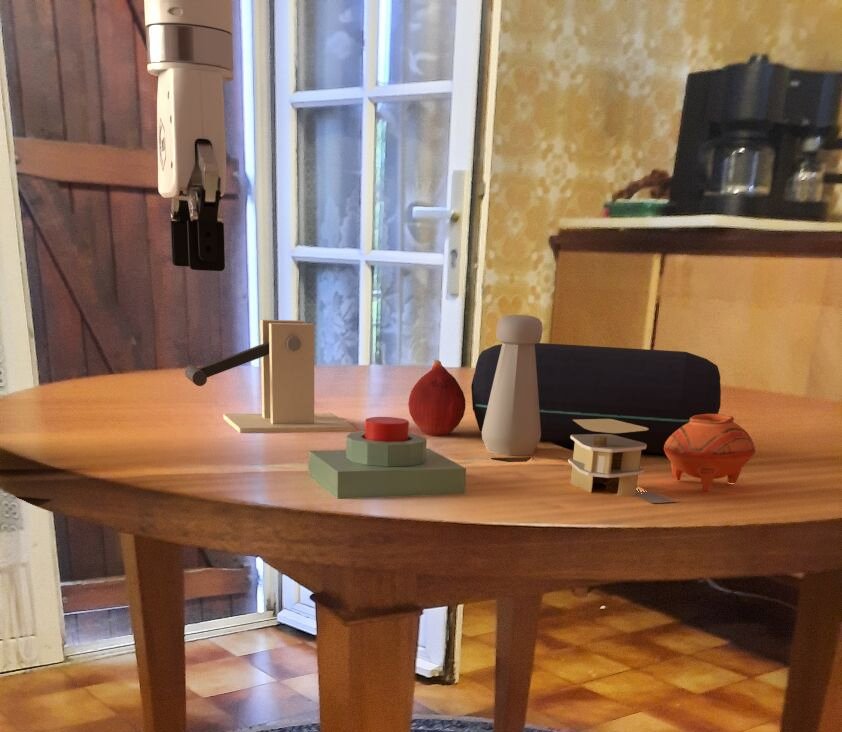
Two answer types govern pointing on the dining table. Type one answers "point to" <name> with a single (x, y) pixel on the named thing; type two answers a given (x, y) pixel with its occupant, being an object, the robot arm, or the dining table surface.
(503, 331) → the salt shaker
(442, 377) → the onion
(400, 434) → the button
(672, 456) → the pot
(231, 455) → the dining table surface
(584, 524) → the dining table surface
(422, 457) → the socket block
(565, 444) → the portable speaker
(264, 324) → the wooden lever stand
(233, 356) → the lever switch
